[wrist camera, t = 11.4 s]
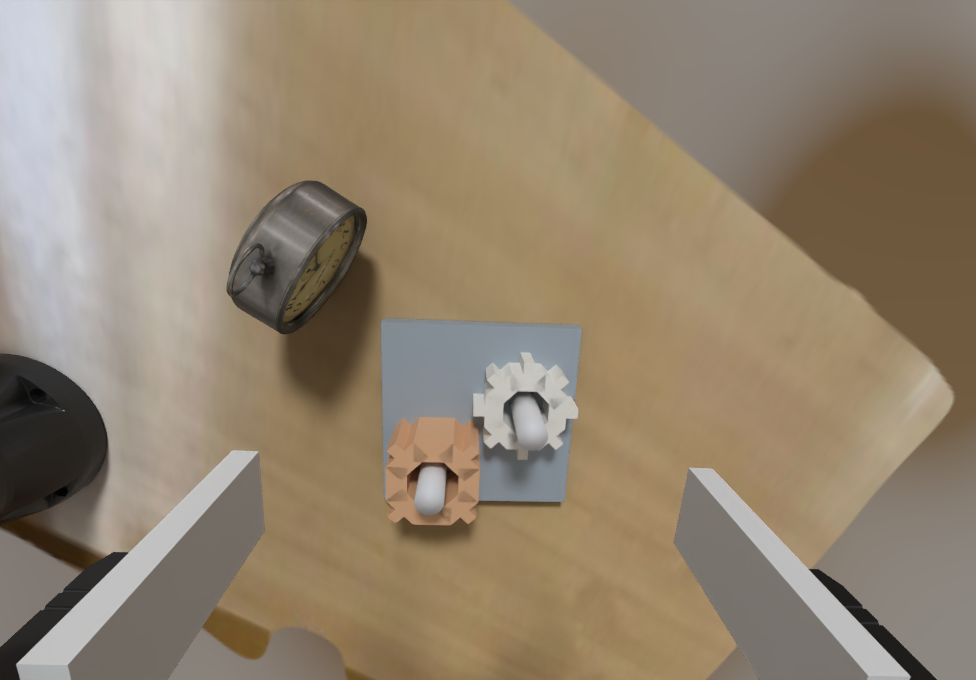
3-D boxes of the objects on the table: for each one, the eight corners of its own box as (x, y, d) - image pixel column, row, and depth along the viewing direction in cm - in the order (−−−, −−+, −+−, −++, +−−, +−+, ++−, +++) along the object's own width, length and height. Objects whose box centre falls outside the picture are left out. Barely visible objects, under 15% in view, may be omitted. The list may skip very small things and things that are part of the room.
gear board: (386, 490, 46) (367, 553, 38) (384, 318, 41) (361, 345, 33) (561, 493, 47) (582, 555, 38) (578, 325, 42) (606, 353, 34)
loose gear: (395, 491, 45) (386, 524, 40) (394, 416, 42) (385, 442, 38) (476, 492, 45) (477, 525, 40) (479, 418, 43) (481, 444, 38)
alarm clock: (323, 316, 41) (234, 379, 26) (268, 284, 40) (141, 329, 25) (383, 212, 39) (326, 210, 23) (327, 176, 38) (228, 148, 22)
